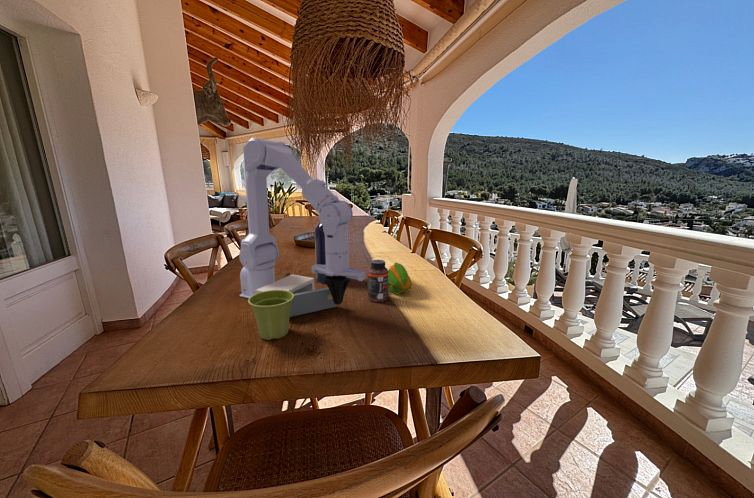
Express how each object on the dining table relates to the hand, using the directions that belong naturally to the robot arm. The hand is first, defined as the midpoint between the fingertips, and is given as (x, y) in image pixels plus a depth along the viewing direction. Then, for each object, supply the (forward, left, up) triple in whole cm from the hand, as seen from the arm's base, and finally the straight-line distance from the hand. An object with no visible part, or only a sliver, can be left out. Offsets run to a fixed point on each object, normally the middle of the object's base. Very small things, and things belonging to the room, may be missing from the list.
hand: (338, 303), depth 75 cm
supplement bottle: (+5, +13, -3) cm, 14 cm away
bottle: (-17, +21, -3) cm, 27 cm away
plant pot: (-8, -15, -3) cm, 17 cm away
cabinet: (-16, -1, -3) cm, 16 cm away
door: (-7, -3, -3) cm, 8 cm away
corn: (+6, +25, -3) cm, 26 cm away
